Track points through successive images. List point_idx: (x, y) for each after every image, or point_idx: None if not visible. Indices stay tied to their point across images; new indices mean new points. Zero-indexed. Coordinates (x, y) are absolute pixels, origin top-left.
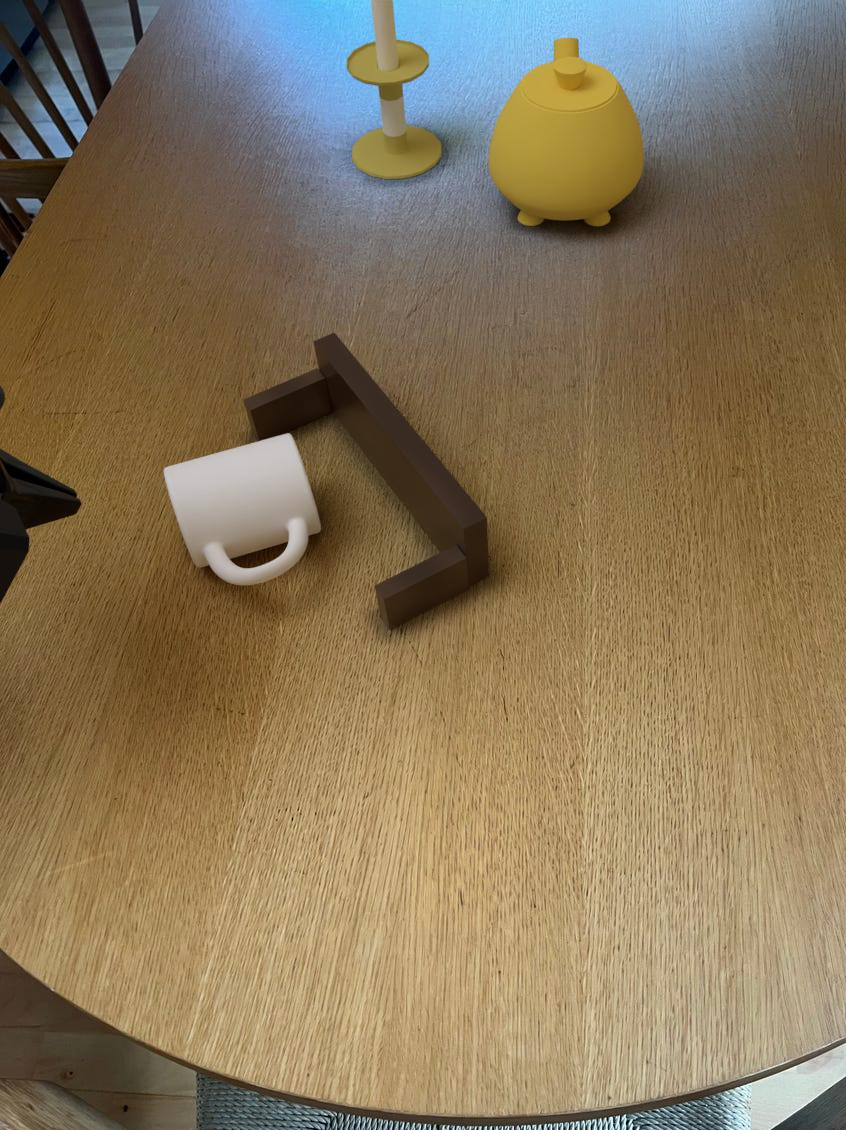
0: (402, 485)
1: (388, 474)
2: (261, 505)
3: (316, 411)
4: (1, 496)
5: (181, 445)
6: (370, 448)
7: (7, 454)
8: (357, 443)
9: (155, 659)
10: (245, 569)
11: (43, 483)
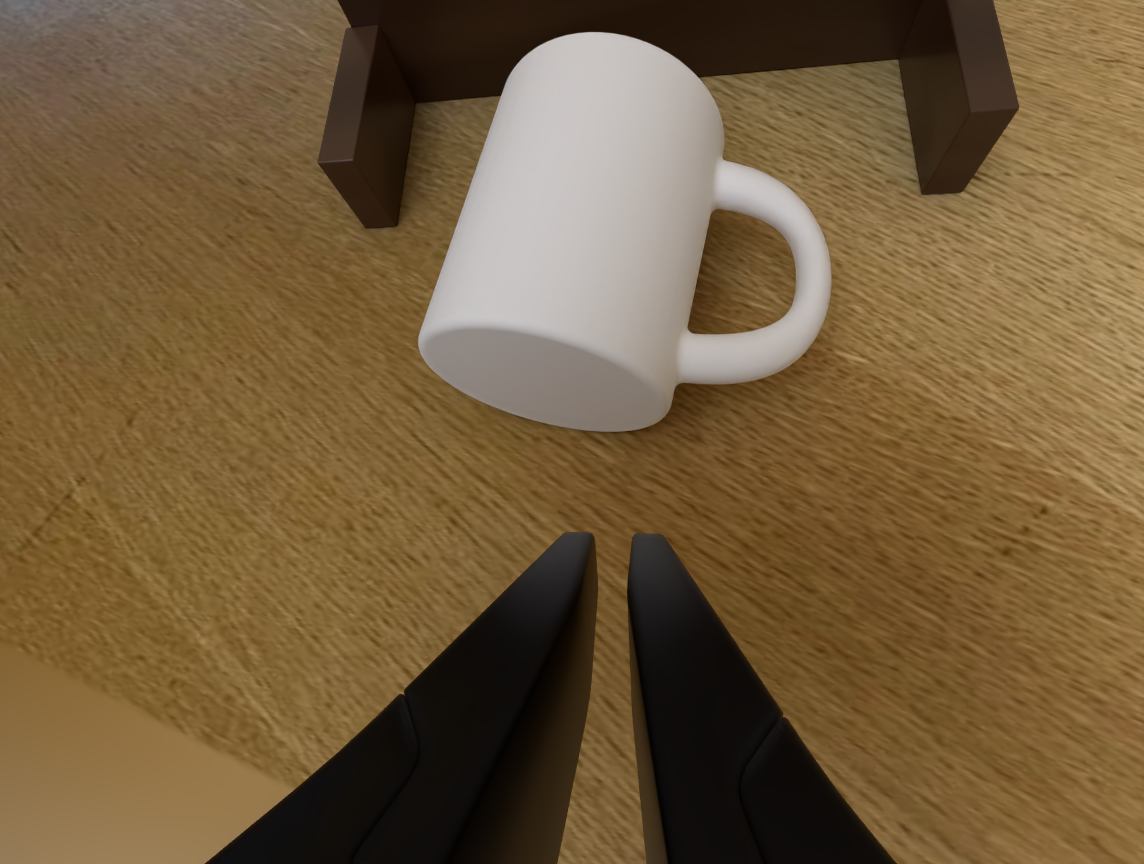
0: (697, 22)
1: None
2: (683, 184)
3: (404, 111)
4: None
5: (296, 348)
6: None
7: (272, 840)
8: None
9: (798, 618)
10: (801, 309)
11: (553, 659)
